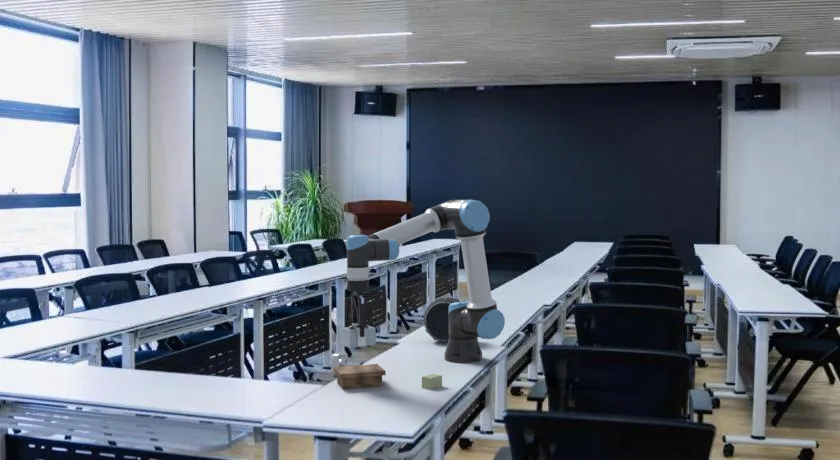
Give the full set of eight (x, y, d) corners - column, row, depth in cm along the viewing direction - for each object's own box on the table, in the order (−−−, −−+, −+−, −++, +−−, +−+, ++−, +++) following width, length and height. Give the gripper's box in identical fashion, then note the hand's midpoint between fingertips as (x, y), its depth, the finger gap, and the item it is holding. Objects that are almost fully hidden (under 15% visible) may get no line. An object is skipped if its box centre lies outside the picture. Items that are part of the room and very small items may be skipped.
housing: (350, 348, 289) (349, 328, 289) (341, 344, 295) (340, 325, 295) (375, 344, 294) (375, 325, 294) (366, 341, 300) (366, 322, 300)
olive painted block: (433, 384, 294) (433, 373, 294) (442, 386, 291) (442, 375, 291) (421, 388, 290) (421, 376, 290) (430, 390, 287) (430, 378, 287)
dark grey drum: (467, 345, 365) (466, 299, 364) (422, 343, 369) (421, 298, 368) (470, 340, 375) (470, 296, 374) (426, 339, 379) (426, 295, 378)
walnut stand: (377, 378, 303) (377, 363, 303) (385, 386, 292) (385, 370, 292) (333, 382, 299) (333, 367, 299) (340, 390, 287) (340, 374, 287)
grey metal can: (345, 373, 313) (345, 352, 313) (349, 376, 308) (348, 355, 307) (329, 374, 312) (329, 353, 311) (332, 377, 306) (332, 356, 305)
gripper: (375, 282, 284) (376, 348, 286) (361, 275, 304) (362, 337, 306) (353, 282, 282) (354, 349, 284) (341, 276, 302) (342, 339, 303)
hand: (358, 343), depth 295 cm, fingers closed on housing, 8 cm apart
